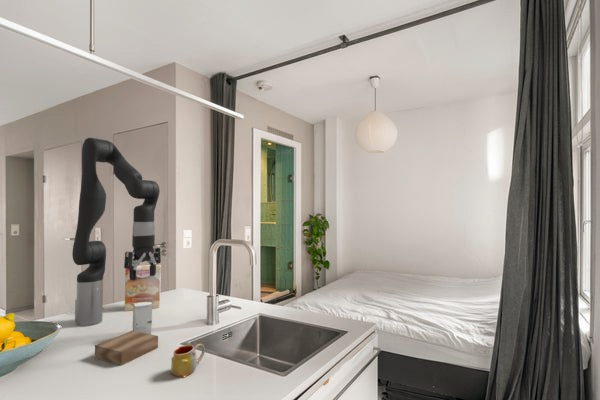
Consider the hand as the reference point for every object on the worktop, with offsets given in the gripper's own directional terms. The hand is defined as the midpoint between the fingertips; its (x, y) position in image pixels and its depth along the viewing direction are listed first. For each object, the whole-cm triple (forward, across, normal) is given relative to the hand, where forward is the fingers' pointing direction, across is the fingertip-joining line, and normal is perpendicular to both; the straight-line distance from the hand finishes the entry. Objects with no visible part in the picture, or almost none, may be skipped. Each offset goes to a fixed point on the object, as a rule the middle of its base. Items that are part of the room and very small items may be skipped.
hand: (143, 277), depth 125 cm
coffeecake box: (+22, -26, -29) cm, 45 cm away
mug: (+22, +12, +33) cm, 41 cm away
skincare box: (+22, 0, 0) cm, 22 cm away
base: (+22, +12, +7) cm, 26 cm away
